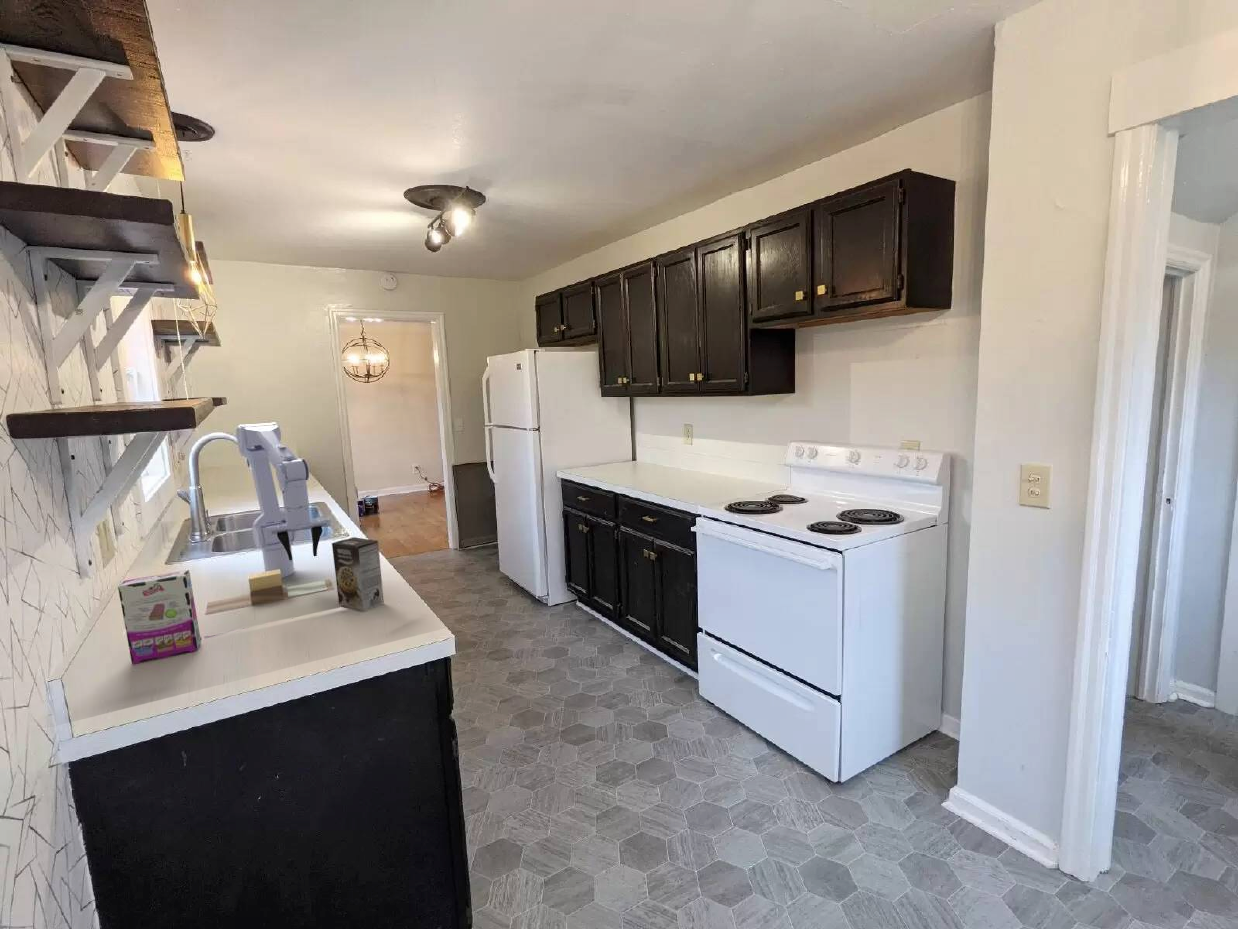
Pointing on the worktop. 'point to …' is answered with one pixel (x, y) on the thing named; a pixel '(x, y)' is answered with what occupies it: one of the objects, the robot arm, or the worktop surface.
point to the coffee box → (358, 573)
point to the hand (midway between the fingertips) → (303, 557)
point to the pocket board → (268, 596)
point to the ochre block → (265, 580)
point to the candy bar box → (159, 616)
